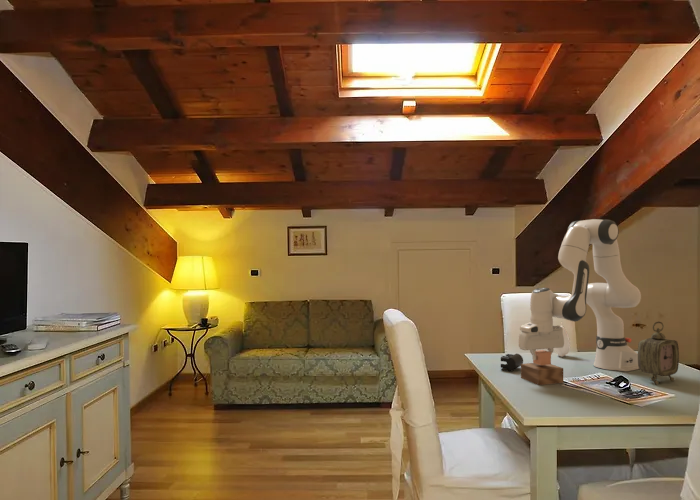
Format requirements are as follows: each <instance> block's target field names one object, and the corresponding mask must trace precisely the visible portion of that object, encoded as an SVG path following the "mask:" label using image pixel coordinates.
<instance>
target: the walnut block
mask: <svg viewBox="0 0 700 500" xmlns="http://www.w3.org/2000/svg"><path fill="white" fill-rule="evenodd" d="M520 378H521V379H523V380H525V381H527V382H530V383H532V384H535V385H537V386H541V385H543V386H544V385H555V384H563V383H564V367H561V366H557V365H554V364H552V363H551V364H548V365H539V364H536V363H533V362H530V363H529V362H528V363H523V364H521V366H520Z"/></svg>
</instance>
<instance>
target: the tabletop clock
mask: <svg viewBox="0 0 700 500" xmlns="http://www.w3.org/2000/svg"><path fill="white" fill-rule="evenodd" d="M657 324H661V328H659V327H657V328H656V329H655V326H656V325H657ZM664 328H665V327H664V324H663V322H662V321H655V322H654V323H653V325H652V330H653V331H654V332H653V333H652V334H651V336H650V337H649V338H645V339H642V340H640V341H639V342H638V344H637V354H638V367H639V369H638V370H639V371H641V372H643V373H645V374H651V375H652V376H651V377H650V380H651V381H652V382H653V384H654V385H659V381H658V380H657V379H658V378H657V377H658V376H660V377H669V381H670V382H674V381H675V378H674V377H672V375H675V374H676V373H678V371H679V365H680V364H679V363H680V352H679V343H678V341H677V340H674V339H669V338H666V336H665V334H664V333H662V331H663V329H664Z"/></svg>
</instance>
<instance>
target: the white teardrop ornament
mask: <svg viewBox="0 0 700 500" xmlns="http://www.w3.org/2000/svg"><path fill="white" fill-rule="evenodd" d="M559 326H560V327H562V329H563V337H564V346H563V347H562V348H553V351H554V352H555V354H557V356H559V357H561V358H562V357H566V355H568V354H569V351H570V348H571V339H570V336H569V334H568V331H567V329H566V328H565V326H563V321H561V323H560V325H559Z"/></svg>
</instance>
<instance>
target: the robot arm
mask: <svg viewBox="0 0 700 500" xmlns="http://www.w3.org/2000/svg"><path fill="white" fill-rule="evenodd" d="M619 231H620V230H619V226H618V224H617V223H616V222H615V220H611V219H598V218H597V219H596V218H592V219H585V220H584V219H583V220H580V219H578V220H575V221H572V222H571V223H570V224H569V226H568V227H567V231H566V233H565V234H564V237H563V240H562V241H561V245H560V248H559V251H558V256H557V259H558V262H559V264H560V265H561V266H562V267H563V269H566V270H568V271H569V272H570V273H572V274H573V282H572V283H573V284H572V292H571V294H570V295H568V296H567V295H562V294H561V295H559V294H557V293H555V292H553V291H552V290H551V288H549V287H537V288H534V289H533V290H532V291H531V294H530V304H529V305H530V308H529V310H530V312H531V315H530V321H528V322H526V323H524V324H521V325H520V326H519V330H520V332H519V335H518V347H519V349H520V350H522V351H529V353H530V354H531V356H532V361H533V360H538V356H536V354H535V352H536V351H537V350H546V351H548V352H551V355H552V354H553V352H554V348H562V347H563V346H564V337H563V329H562V327H560V326H561V325H554V321H553V320H554V319H553V318H558V319H564V320H566V321H570V322H578V321H580V320H582V318H584V317H585V315H586V313H587V306H589V308H590V309H591V310H592V312H593V314H594V316H595V319H596V330H597V331H596V334H597V335H596V336H595V343H596V350H595V358H594V362H593V366H594V367H596V368H599V369H604V370H607V371H620V372H630V371H635V370H640V369H639V367H638V352H636V351H635V350H634V349H633V348H631V347H630V346H629V345H628V343H631V342H632V341H633V340H632V338H630V337H625V332H624V331H625V329H624V327H625V326H624V320H623V318H621V316H619V315H617V314H616V313H614V311H613V310H612V308H621V309H628V308H629V309H630V308H635V307H637V306H638V305H639V304H640V303H641V300H642V293H641V291H640V289H639V288H638V287H637V286H636V285H634V284H632V282H631V281H630V280H629V279H628V278H627V277H626V275H625V273H624V271H623V268H622V263H621V253H620V247H619V242H618V239H617V238H618V237H619ZM590 245H592V259H593V268H594V272H595V273H596V274H597V275H598V276H600V277H602V278H603V279H604V280H605V281H606V282H591V283H589V281H590V280H589V278H590V265H589V264H588V262H587V254H588V251H589V248H590Z"/></svg>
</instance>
